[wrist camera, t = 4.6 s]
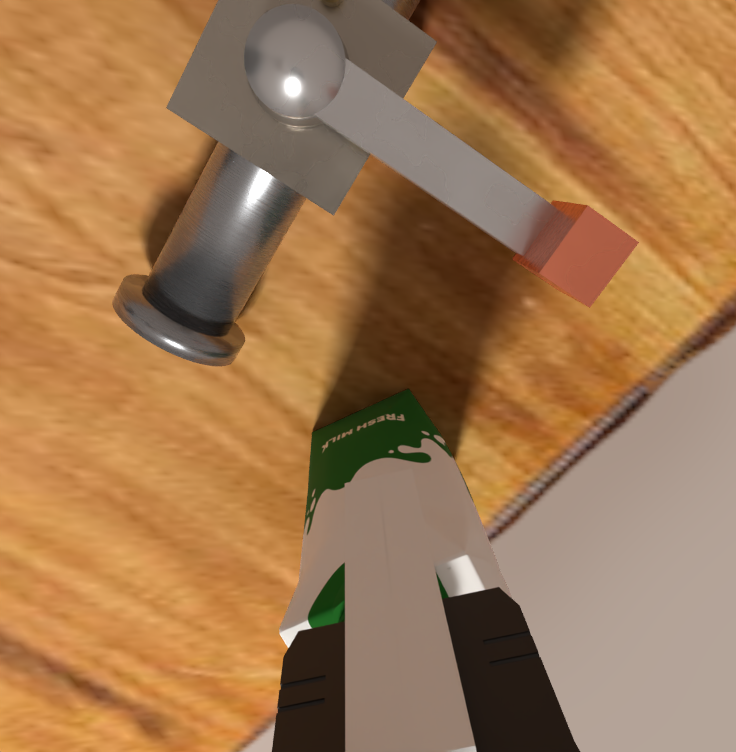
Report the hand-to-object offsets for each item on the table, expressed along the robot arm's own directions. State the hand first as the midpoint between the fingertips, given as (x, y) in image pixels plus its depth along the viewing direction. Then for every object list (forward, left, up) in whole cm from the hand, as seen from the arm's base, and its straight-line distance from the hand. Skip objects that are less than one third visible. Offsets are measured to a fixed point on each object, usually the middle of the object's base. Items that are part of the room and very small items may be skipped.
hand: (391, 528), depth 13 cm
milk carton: (-8, -7, -24) cm, 26 cm away
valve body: (+8, +8, -24) cm, 27 cm away
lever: (+8, +2, -14) cm, 17 cm away
